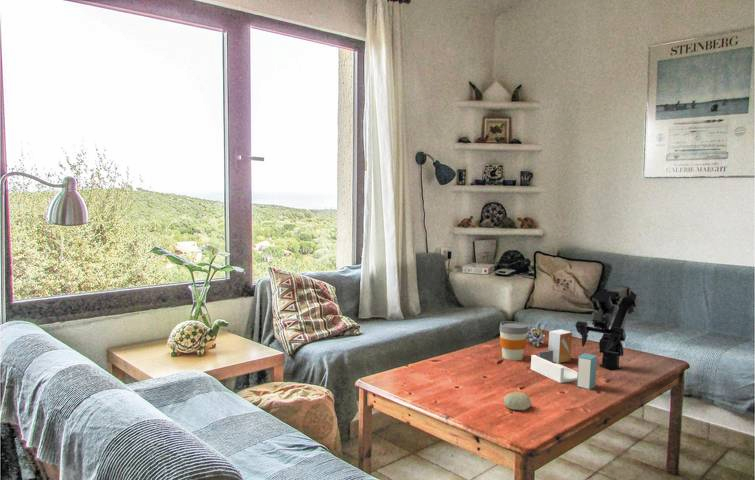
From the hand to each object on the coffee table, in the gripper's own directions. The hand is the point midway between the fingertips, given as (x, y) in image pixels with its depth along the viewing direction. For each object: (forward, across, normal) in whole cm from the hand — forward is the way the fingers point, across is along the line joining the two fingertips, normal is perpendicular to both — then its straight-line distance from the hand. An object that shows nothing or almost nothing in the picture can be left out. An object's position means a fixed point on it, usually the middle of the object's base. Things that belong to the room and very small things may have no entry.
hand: (594, 348), depth 226 cm
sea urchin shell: (+41, -11, -22) cm, 48 cm away
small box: (-3, -21, +22) cm, 30 cm away
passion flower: (-14, -41, +33) cm, 54 cm away
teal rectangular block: (+15, 0, +4) cm, 15 cm away
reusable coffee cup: (+4, -38, +15) cm, 41 cm away
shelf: (+10, -14, +9) cm, 19 cm away
